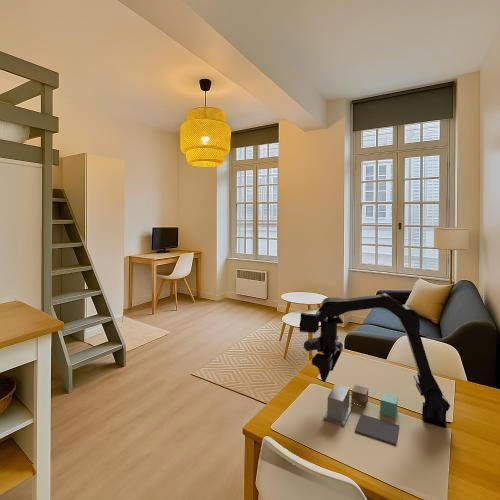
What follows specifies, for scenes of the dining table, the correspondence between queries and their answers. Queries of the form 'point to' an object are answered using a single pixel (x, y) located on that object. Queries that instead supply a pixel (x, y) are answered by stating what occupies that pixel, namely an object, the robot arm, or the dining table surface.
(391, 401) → the teal block
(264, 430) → the dining table surface
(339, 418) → the grey upright box
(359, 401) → the walnut block
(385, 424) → the dark grey mat
